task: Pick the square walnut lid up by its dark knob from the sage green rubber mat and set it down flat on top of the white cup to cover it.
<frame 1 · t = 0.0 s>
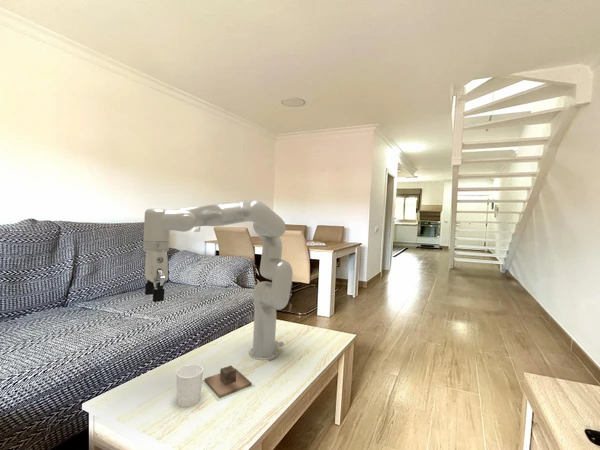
hand: (154, 297, 95), 31 cm above the table, tool pointing down, fingers open, 9 cm apart
mat: (227, 385, 101), on the table
white cup: (188, 402, 91), on the table
lid: (227, 383, 101), point 1 cm above the table, touching mat
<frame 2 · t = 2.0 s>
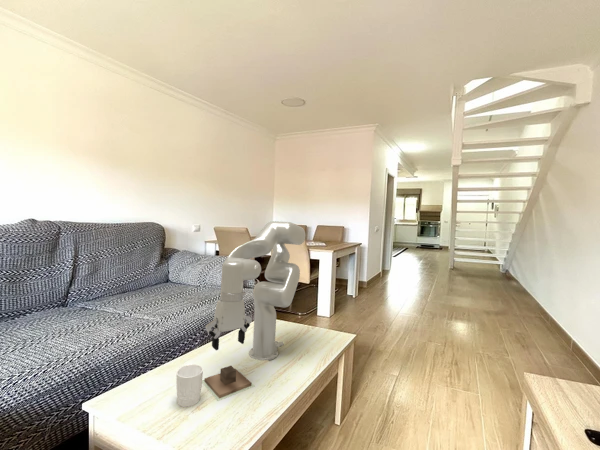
hand: (228, 345, 100), 14 cm above the table, tool pointing down, fingers open, 9 cm apart
nothing on the table moved.
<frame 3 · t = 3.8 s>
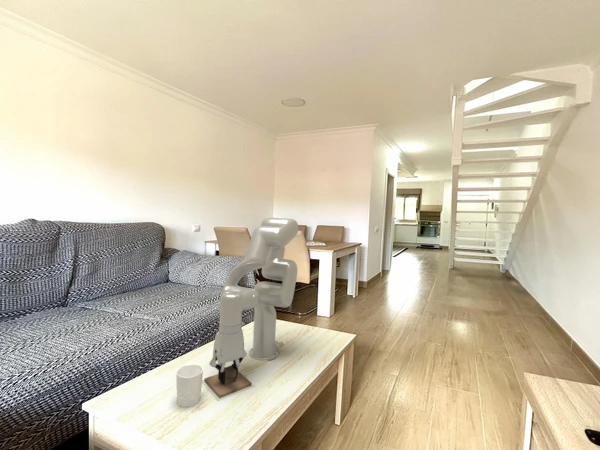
hand: (228, 378, 101), 2 cm above the table, tool pointing down, fingers closed on lid, 4 cm apart
lid: (227, 383, 101), point 1 cm above the table, touching gripper, mat
everything else where it was.
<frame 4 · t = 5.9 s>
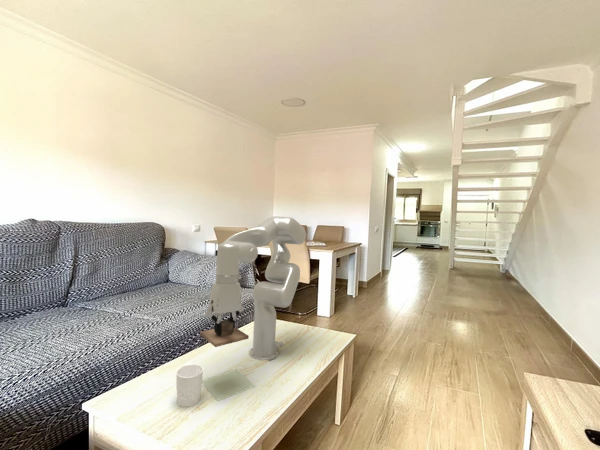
hand: (224, 331, 99), 20 cm above the table, tool pointing down, fingers closed on lid, 4 cm apart
lid: (224, 336, 99), point 18 cm above the table, touching gripper
everything else where it was.
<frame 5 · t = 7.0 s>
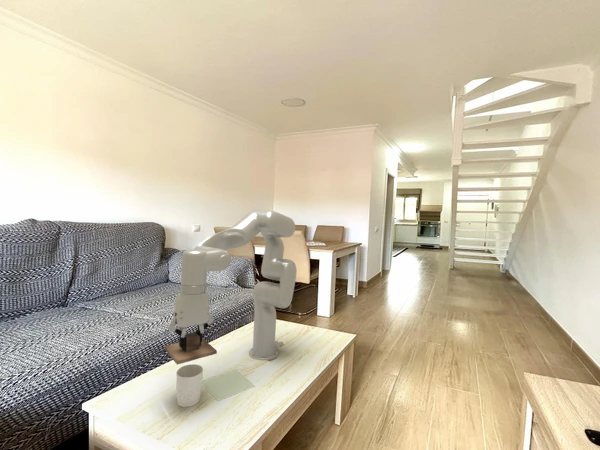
hand: (190, 346, 91), 18 cm above the table, tool pointing down, fingers closed on lid, 4 cm apart
lid: (190, 351, 91), point 16 cm above the table, touching gripper
everything else where it was.
when the fingers open (13 cm above the table, at t = 8.0 s): lid drops 2 cm, resting on white cup.
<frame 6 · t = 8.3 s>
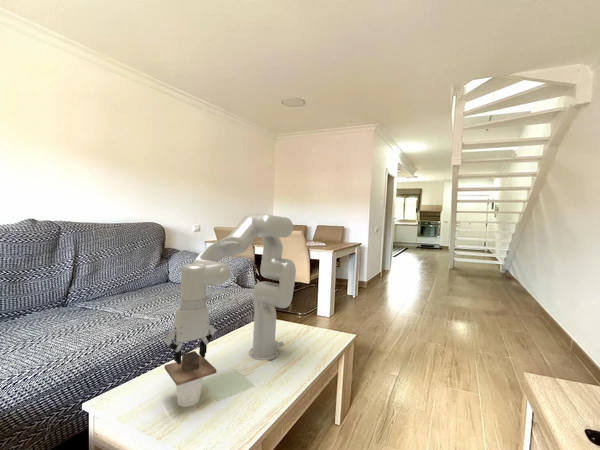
hand: (190, 358, 91), 14 cm above the table, tool pointing down, fingers open, 7 cm apart
white cup: (188, 402, 91), on the table, touching lid
lid: (190, 370, 91), point 10 cm above the table, touching white cup
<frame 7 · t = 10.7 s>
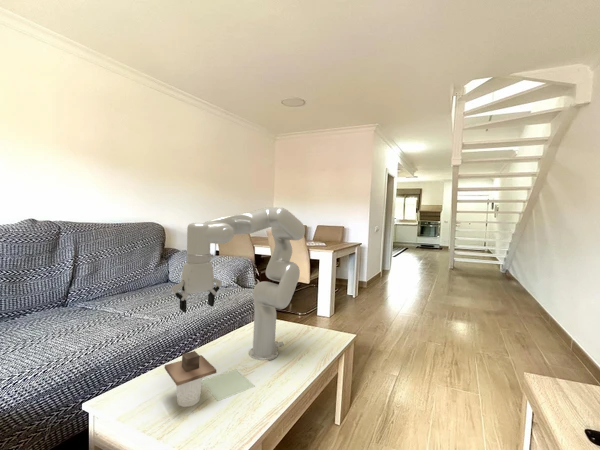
hand: (197, 308, 99), 27 cm above the table, tool pointing down, fingers open, 9 cm apart
nothing on the table moved.
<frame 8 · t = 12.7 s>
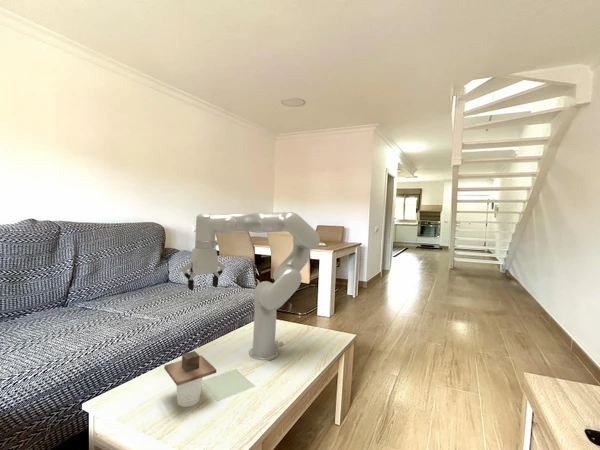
hand: (203, 288, 114), 30 cm above the table, tool pointing down, fingers open, 9 cm apart
nothing on the table moved.
at the end: lid 0.1 cm from the white cup (horizontally); lid point 10.0 cm above the table; white cup tilted 0° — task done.
